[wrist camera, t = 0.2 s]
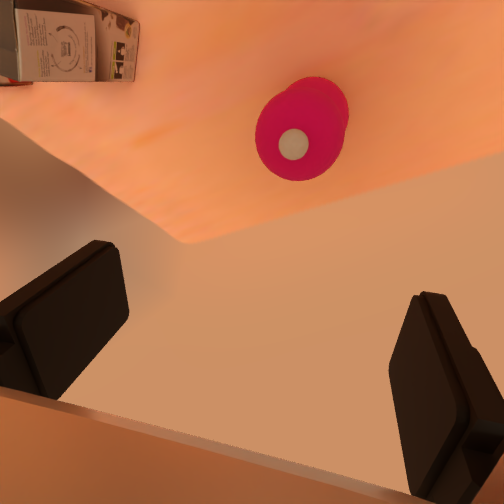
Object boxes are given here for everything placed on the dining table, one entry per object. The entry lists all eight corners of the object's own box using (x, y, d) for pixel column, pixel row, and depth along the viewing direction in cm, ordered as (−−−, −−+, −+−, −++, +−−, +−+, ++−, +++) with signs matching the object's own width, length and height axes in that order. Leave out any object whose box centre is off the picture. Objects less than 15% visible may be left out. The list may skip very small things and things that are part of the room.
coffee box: (141, 19, 35) (14, -19, 21) (134, 83, 39) (21, 86, 25) (65, -8, 36) (-107, -63, 22) (65, 57, 39) (-85, 46, 25)
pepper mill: (361, 100, 34) (387, 121, 17) (322, 159, 38) (310, 228, 21) (303, 62, 34) (268, 47, 17) (269, 127, 37) (212, 168, 20)
